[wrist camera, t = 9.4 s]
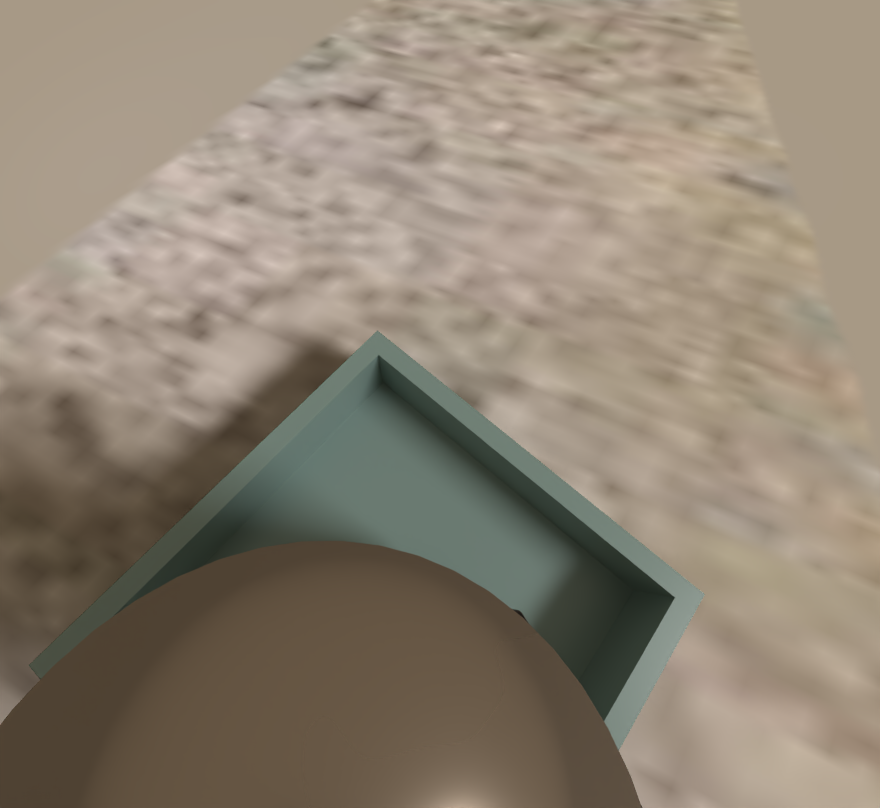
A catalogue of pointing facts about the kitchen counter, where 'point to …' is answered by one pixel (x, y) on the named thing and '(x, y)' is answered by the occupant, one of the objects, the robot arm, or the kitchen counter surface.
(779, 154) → the kitchen counter surface
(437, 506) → the tray
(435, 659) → the canister
